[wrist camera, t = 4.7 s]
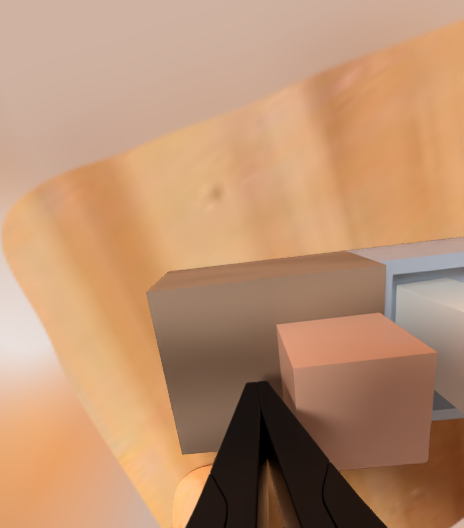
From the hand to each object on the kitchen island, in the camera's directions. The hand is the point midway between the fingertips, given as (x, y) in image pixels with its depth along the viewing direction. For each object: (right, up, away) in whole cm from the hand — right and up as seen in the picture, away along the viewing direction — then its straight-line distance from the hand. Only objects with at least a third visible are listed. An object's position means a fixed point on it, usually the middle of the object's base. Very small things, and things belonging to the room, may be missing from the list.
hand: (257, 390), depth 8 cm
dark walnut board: (+1, +1, +4) cm, 4 cm away
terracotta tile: (+3, +1, +1) cm, 3 cm away
